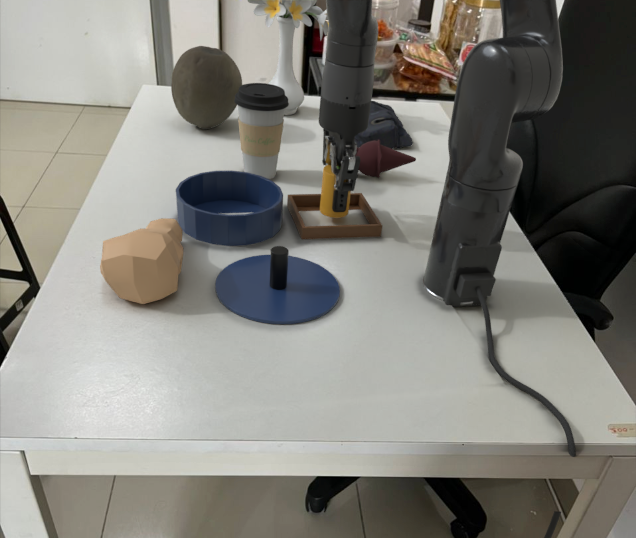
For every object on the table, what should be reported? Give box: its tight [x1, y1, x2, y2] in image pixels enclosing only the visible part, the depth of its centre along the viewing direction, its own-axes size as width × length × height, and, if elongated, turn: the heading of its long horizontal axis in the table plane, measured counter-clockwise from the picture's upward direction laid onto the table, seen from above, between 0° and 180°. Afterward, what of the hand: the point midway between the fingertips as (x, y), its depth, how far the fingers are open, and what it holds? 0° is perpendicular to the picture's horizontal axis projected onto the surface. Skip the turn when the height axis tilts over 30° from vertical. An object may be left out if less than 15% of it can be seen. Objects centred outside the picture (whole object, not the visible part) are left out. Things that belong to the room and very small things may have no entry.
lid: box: [214, 245, 341, 325], centre depth 88 cm, size 17×17×7 cm
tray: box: [286, 192, 384, 240], centre depth 107 cm, size 12×13×2 cm
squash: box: [99, 217, 184, 305], centre depth 89 cm, size 11×20×9 cm, turn 0°
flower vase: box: [247, 0, 329, 116], centre depth 140 cm, size 13×18×25 cm
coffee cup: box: [234, 82, 289, 180], centre depth 115 cm, size 9×9×15 cm
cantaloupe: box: [170, 45, 243, 130], centre depth 132 cm, size 14×14×15 cm
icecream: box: [355, 140, 417, 179], centre depth 122 cm, size 7×7×15 cm
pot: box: [175, 170, 284, 247], centre depth 103 cm, size 17×17×6 cm
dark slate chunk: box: [355, 100, 414, 150], centre depth 141 cm, size 15×22×5 cm
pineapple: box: [319, 165, 352, 219], centre depth 103 cm, size 5×5×9 cm
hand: (334, 203), depth 106 cm, fingers closed on pineapple, 4 cm apart
